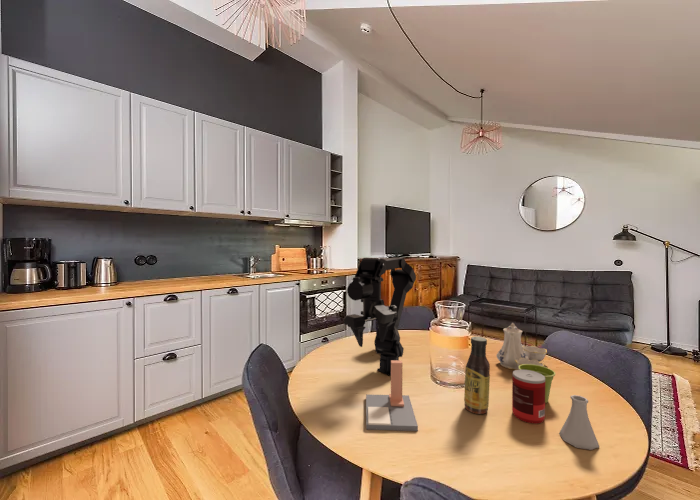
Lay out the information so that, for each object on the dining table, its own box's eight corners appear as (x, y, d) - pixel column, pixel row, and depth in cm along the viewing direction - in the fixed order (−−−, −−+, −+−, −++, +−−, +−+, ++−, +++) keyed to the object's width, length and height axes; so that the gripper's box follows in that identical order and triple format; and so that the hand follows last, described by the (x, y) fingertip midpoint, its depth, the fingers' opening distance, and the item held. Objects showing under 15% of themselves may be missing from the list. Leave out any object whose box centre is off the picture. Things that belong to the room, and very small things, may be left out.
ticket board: (417, 430, 78) (417, 424, 78) (366, 429, 79) (366, 422, 78) (408, 399, 94) (408, 394, 94) (366, 398, 94) (366, 393, 94)
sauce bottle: (459, 406, 90) (459, 336, 90) (476, 402, 92) (476, 333, 92) (477, 418, 84) (477, 342, 84) (494, 413, 86) (495, 339, 86)
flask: (552, 432, 78) (553, 391, 77) (581, 431, 78) (581, 390, 78) (575, 451, 70) (576, 406, 70) (606, 450, 71) (607, 405, 71)
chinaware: (547, 391, 103) (554, 341, 102) (491, 375, 112) (497, 328, 111) (544, 363, 128) (550, 322, 127) (498, 352, 136) (503, 313, 135)
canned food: (541, 411, 88) (541, 371, 87) (548, 426, 80) (549, 383, 80) (510, 406, 90) (510, 367, 90) (514, 421, 82) (514, 378, 82)
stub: (404, 406, 87) (404, 365, 87) (390, 406, 87) (391, 365, 87) (401, 396, 93) (401, 358, 93) (389, 395, 93) (389, 357, 93)
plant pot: (524, 388, 101) (524, 361, 101) (558, 399, 95) (559, 369, 94) (513, 398, 95) (513, 369, 95) (550, 410, 88) (550, 378, 88)
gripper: (366, 302, 92) (365, 356, 92) (410, 296, 104) (409, 344, 104) (343, 297, 101) (343, 347, 101) (386, 292, 112) (386, 337, 113)
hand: (371, 344), depth 104 cm, fingers open, 9 cm apart
